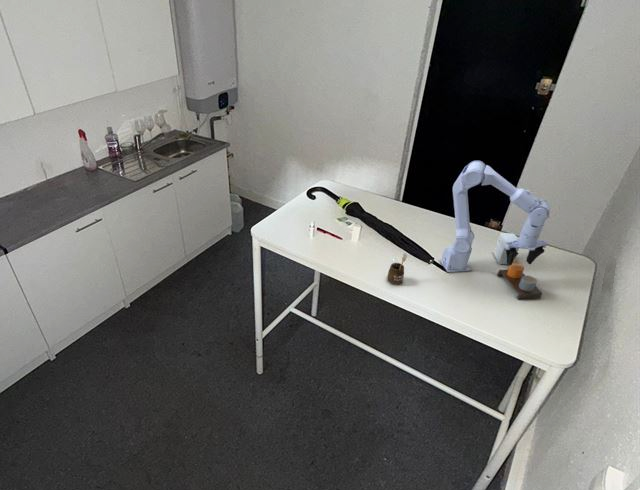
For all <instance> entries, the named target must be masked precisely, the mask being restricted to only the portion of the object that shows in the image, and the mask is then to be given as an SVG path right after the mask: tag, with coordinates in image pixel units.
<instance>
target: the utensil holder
mask: <svg viewBox="0 0 640 490" xmlns="http://www.w3.org/2000/svg"><path fill="white" fill-rule="evenodd" d="M407 258H408V254H407V253H406V252H404V253H403V256H402V258H401V263H400V262H398V260H397V258H392V260H391V261H390V262H391V264H390V266H389V269H388V272H387V281H388V282H389V283H390V284H393V285H401V284H402V283H403V281H404V277H405V266H404V264H403V263H404V262H406V260H407ZM394 261H396V262H394Z"/></svg>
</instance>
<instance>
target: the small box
mask: <svg viewBox="0 0 640 490" xmlns="http://www.w3.org/2000/svg"><path fill="white" fill-rule="evenodd" d="M518 239H519V237H517V235H516V233H511V232H510V233H509V232H500V233H499V236H498V239H497V242H496V243H495V248H494V251H493V254H494V257H495V259H496V261H497V263H498V264H499V265H508V264H507V263H506V262H507V254H506V249H505V247H504V246H505V244H506V243H509V242H513V241H516V240H518ZM519 250H520V248H516V251H517V252H518V253H519ZM516 258H517V256H516V257H515V259H514V261H513V263H515V260H516Z"/></svg>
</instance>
